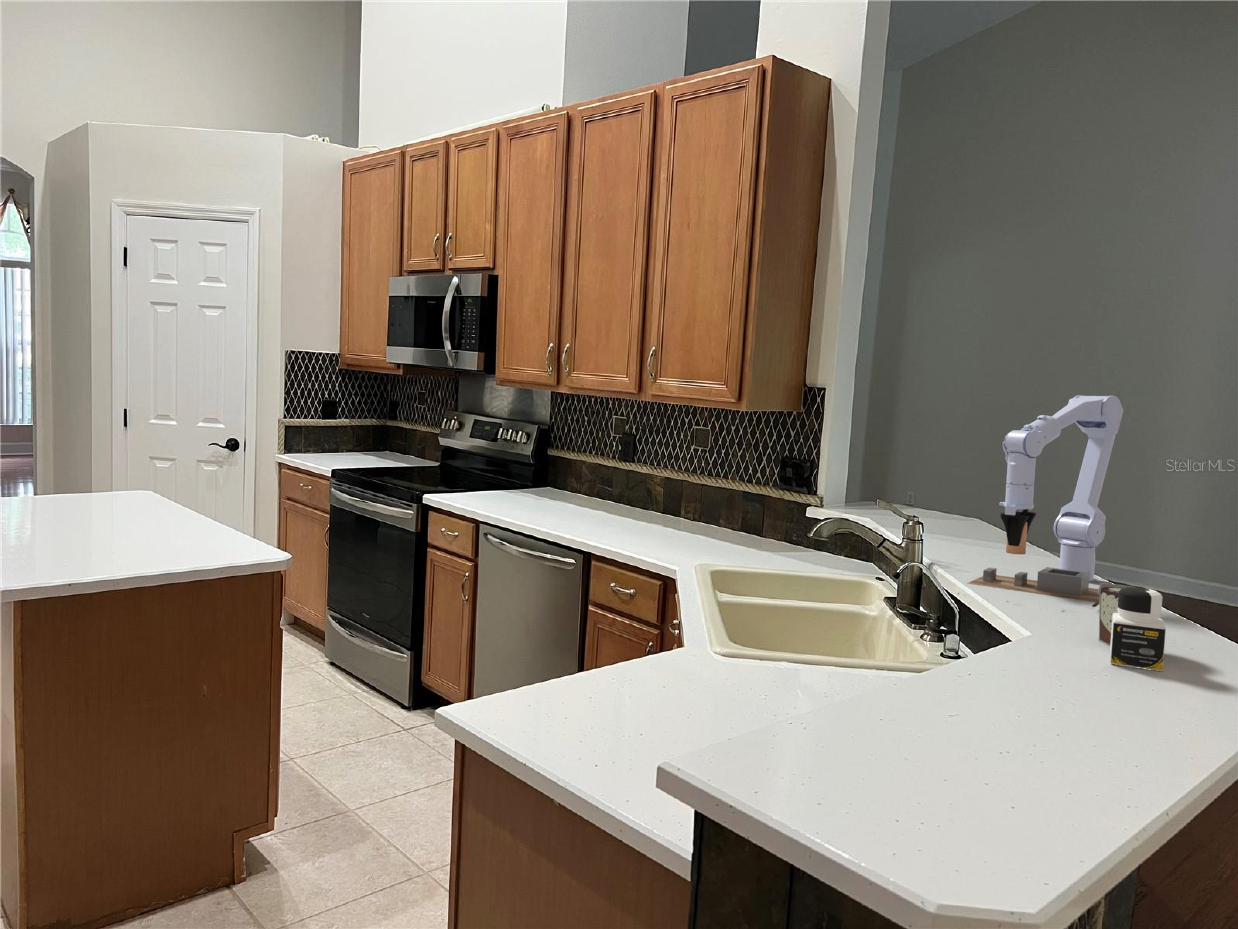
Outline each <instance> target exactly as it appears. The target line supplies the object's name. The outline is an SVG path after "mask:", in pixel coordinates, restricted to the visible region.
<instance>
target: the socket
mask: <svg viewBox="0 0 1238 929" xmlns="http://www.w3.org/2000/svg"><path fill="white" fill-rule="evenodd" d="M1036 581H1037V590H1038V591H1045V592H1052V593H1059V594H1066V595H1073V596H1082V595H1083V594H1084V593H1086V592H1087V591H1088V588H1090V587H1089V585H1090V581H1089V572H1081V571H1074V570H1066V569H1059V567H1058V568H1057V567H1049V566H1048V567H1044V568H1043V569H1041V570H1039V571H1037V578H1036Z"/></svg>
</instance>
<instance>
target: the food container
mask: <svg viewBox="0 0 1238 929" xmlns="http://www.w3.org/2000/svg"><path fill="white" fill-rule="evenodd" d="M1126 587H1132V586H1129V585H1124V584H1116V583H1115V584H1114V583H1106V582H1105V583H1102V582H1099V586H1098V588H1097V589H1098V594H1100V599H1099V605H1098V606H1099V607H1098V608H1099V610H1098V615H1099V616H1098V642H1100V643H1102V644H1103V645H1106V646H1107V647H1110V643H1111V629H1112V615H1113V613H1119V612H1117V609H1118V595H1119V591H1120V590H1121V589H1123V588H1126Z"/></svg>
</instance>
